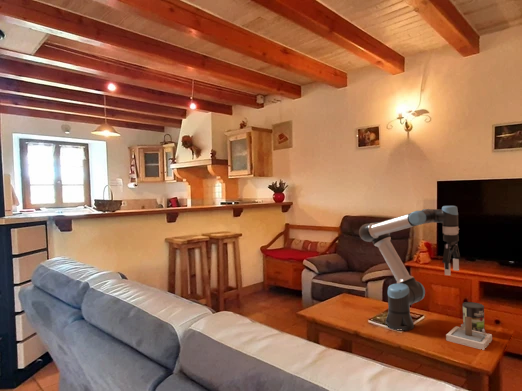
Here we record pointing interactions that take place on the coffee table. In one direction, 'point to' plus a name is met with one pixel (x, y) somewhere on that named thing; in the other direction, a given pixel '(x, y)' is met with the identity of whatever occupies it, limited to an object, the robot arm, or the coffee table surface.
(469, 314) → the coffee can
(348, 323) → the coffee table surface
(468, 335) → the grey panel with handle
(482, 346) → the frame
